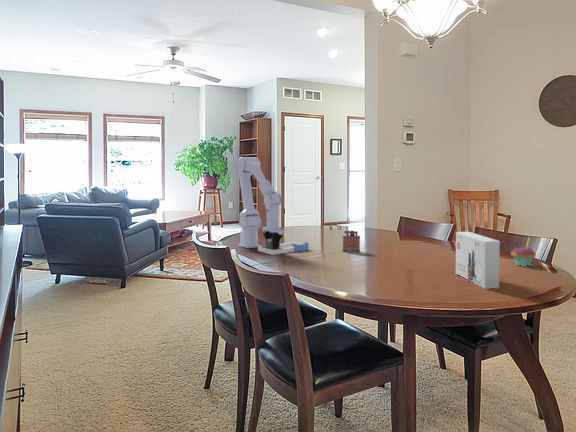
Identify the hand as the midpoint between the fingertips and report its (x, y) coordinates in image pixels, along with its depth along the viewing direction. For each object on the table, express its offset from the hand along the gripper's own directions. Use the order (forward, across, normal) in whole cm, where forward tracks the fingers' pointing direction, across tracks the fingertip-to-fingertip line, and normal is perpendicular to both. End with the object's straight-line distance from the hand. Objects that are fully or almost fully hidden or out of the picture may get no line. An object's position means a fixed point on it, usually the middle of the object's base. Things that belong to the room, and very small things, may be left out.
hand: (272, 248), depth 209 cm
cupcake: (+2, +84, +63) cm, 105 cm away
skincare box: (+2, +87, +24) cm, 90 cm away
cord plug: (+2, 0, 0) cm, 2 cm away
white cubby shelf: (+2, 0, +6) cm, 6 cm away
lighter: (+2, +22, +29) cm, 36 cm away
